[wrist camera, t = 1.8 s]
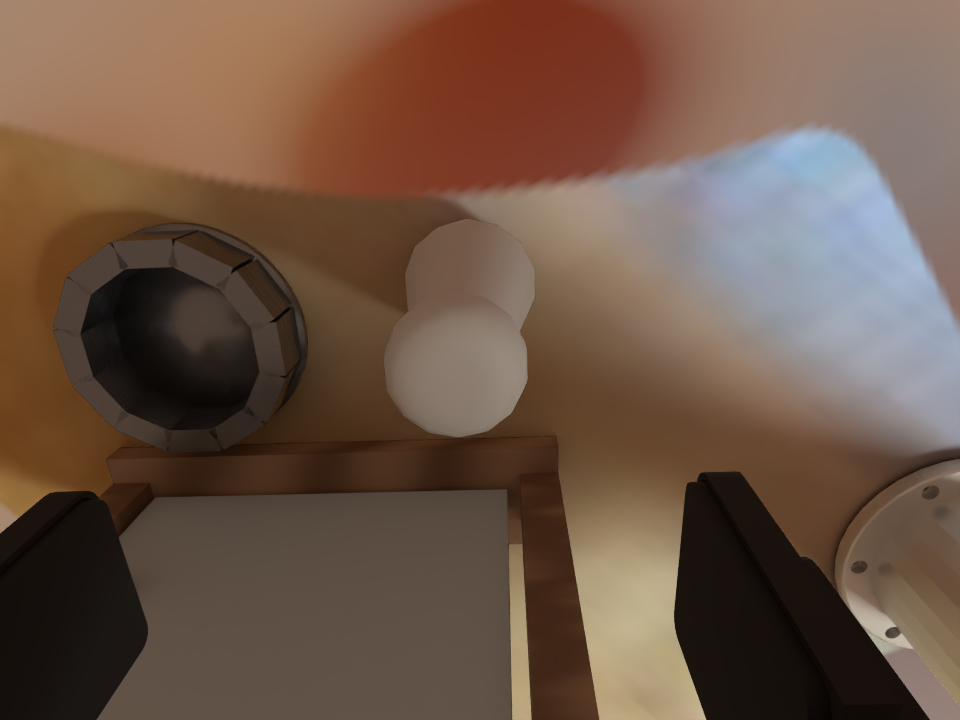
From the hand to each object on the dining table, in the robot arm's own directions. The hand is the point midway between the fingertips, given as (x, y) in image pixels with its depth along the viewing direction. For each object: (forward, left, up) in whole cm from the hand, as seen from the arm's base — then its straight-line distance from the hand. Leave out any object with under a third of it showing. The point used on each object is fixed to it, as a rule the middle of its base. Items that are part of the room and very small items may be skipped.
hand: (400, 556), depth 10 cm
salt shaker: (0, 0, -21) cm, 21 cm away
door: (+8, +11, -19) cm, 24 cm away
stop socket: (+14, +3, -21) cm, 25 cm away
